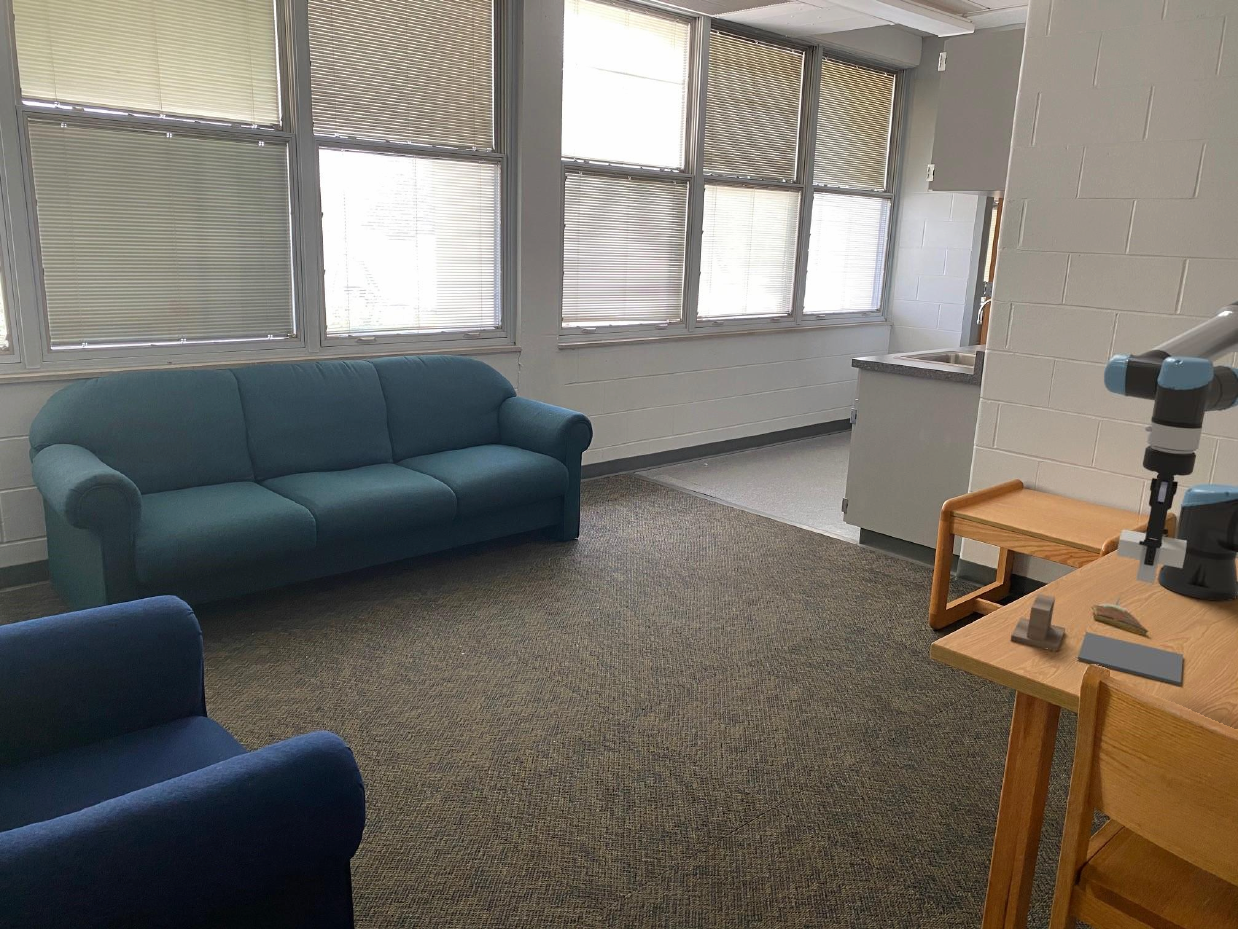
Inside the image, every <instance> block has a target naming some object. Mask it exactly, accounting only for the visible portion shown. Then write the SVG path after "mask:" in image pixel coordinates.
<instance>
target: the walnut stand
mask: <svg viewBox="0 0 1238 929" xmlns="http://www.w3.org/2000/svg"><path fill="white" fill-rule="evenodd" d="M1034 599H1035V600H1034V602H1033V603H1032V605H1031V610H1030V613H1029V615H1030V616H1029V618H1025V617H1024V618H1023V617H1019V620H1018V622H1017V624H1016V626H1015V628H1014V630H1013V632H1012V633H1011V635H1010V641H1012V642H1017V643H1020V644H1024V643H1025V645H1028V644H1029V646H1032V645H1034V646H1033V647H1037V648H1040V647H1042V648H1041V649H1044V648H1048V649H1050V650H1049V651H1052V650H1055V651H1054V652H1056V651H1057V650H1059V648H1060V645H1061V643H1062V641H1063V637H1064V635H1065V631H1066V628H1065V627H1063V626H1058V625H1055V624H1054V625H1053V624H1052V620H1053V619H1052V618H1053V615H1054V614H1053V612H1054V608H1055V601H1056V597H1055V596H1050V595H1045V594H1041V593H1037V595H1036V598H1034ZM1048 649H1047V650H1048ZM1057 652H1058V651H1057Z"/></svg>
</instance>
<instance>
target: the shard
mask: <svg viewBox="0 0 1238 929" xmlns="http://www.w3.org/2000/svg"><path fill="white" fill-rule="evenodd" d="M1091 609H1092V610H1093V611H1094V614H1093V620H1094V621H1095V620H1096V621H1098V622H1103V623H1106V624H1108V625H1112V626H1113V627H1117V628H1120V629H1122V630H1126V631H1128V632H1132V633H1134V634H1139V635H1142V636H1147V633H1148V632H1150V631H1149V630H1148V629H1146V627H1145V626H1144V625H1142V624H1141V623H1140V622H1139V620H1138V619H1136V617H1134V615H1132V613H1130V612H1127V611H1128V610H1127V609H1126V610H1127V611H1126V610H1122V609H1119V608H1116V607H1110V606H1099V605H1097V604H1096V605H1095V604H1094V605H1091Z"/></svg>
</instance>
